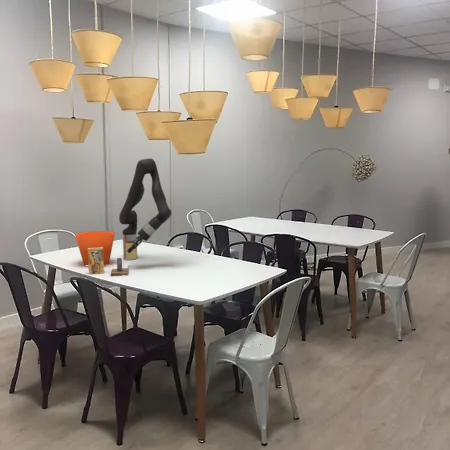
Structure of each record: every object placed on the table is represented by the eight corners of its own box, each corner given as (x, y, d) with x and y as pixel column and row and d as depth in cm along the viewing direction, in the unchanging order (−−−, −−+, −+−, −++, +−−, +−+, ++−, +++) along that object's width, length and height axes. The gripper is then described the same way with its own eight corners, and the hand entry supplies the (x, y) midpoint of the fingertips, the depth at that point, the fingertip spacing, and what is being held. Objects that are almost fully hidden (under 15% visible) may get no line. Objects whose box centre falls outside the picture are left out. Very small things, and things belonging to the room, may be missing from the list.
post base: (111, 271, 297) (111, 256, 296) (128, 270, 299) (128, 255, 298) (110, 276, 286) (110, 260, 284) (128, 275, 287) (127, 259, 286)
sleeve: (126, 256, 307) (125, 241, 306) (136, 256, 308) (136, 240, 307) (125, 259, 301) (125, 243, 299) (136, 258, 302) (136, 242, 301)
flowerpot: (90, 258, 334) (88, 230, 331) (122, 260, 327) (121, 231, 324) (68, 266, 310) (67, 236, 307) (103, 269, 303) (102, 237, 300)
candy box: (104, 271, 297) (102, 247, 294) (104, 273, 293) (102, 248, 290) (88, 272, 294) (87, 247, 292) (88, 274, 290) (87, 249, 288)
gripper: (142, 225, 310) (124, 244, 310) (142, 229, 296) (123, 249, 296) (151, 233, 312) (132, 252, 312) (151, 237, 298) (132, 257, 298)
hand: (128, 250), depth 304 cm, fingers closed on sleeve, 6 cm apart
